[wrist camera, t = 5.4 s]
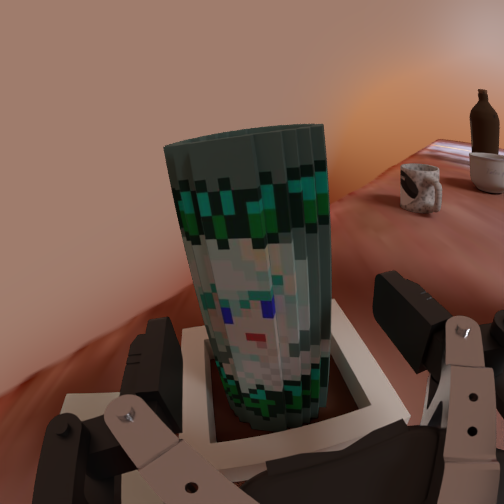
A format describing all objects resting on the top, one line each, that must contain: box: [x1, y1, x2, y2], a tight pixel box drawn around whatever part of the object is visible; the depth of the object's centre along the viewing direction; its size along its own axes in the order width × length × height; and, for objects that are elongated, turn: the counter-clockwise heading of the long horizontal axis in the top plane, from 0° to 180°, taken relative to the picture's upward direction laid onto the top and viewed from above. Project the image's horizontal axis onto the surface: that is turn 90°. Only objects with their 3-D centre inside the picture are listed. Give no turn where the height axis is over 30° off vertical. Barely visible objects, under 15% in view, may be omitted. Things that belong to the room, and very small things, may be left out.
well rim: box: [179, 299, 411, 482], centre depth 17 cm, size 12×12×2 cm
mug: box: [400, 164, 442, 213], centre depth 41 cm, size 10×7×7 cm, turn 178°
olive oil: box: [470, 89, 499, 155], centre depth 66 cm, size 11×11×25 cm
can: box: [164, 124, 332, 432], centre depth 14 cm, size 6×6×15 cm
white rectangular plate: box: [60, 392, 165, 504], centre depth 13 cm, size 8×10×1 cm
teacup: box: [469, 153, 504, 193], centre depth 48 cm, size 14×11×8 cm
